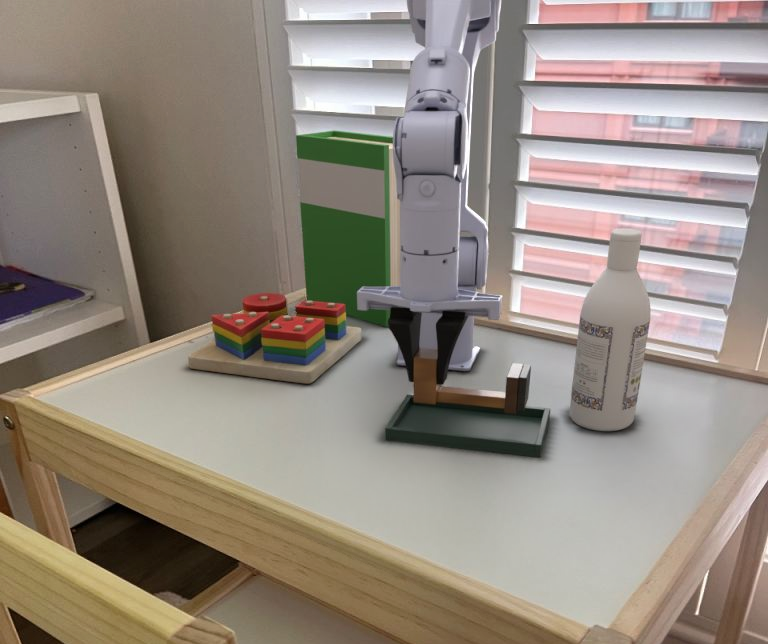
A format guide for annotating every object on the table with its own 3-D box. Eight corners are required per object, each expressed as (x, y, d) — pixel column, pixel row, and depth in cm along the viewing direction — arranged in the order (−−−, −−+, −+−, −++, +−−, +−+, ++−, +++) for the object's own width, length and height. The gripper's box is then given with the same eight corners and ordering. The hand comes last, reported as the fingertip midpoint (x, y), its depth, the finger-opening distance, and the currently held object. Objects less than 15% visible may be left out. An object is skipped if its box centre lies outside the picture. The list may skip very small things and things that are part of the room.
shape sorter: (310, 385, 98) (307, 337, 95) (187, 369, 103) (180, 323, 100) (363, 338, 112) (361, 295, 108) (252, 326, 117) (247, 284, 114)
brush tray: (385, 440, 85) (385, 428, 84) (407, 405, 92) (406, 394, 92) (539, 457, 81) (541, 445, 80) (549, 419, 88) (550, 408, 88)
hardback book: (421, 315, 120) (422, 139, 108) (386, 326, 116) (384, 145, 103) (341, 292, 131) (334, 130, 118) (306, 302, 126) (295, 135, 114)
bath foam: (624, 406, 91) (652, 222, 81) (641, 432, 85) (673, 238, 75) (563, 406, 91) (583, 224, 81) (575, 433, 85) (598, 240, 75)
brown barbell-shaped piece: (412, 404, 85) (412, 359, 82) (421, 389, 88) (421, 345, 85) (523, 415, 82) (527, 369, 79) (528, 400, 85) (532, 355, 82)
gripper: (345, 254, 76) (350, 387, 83) (497, 262, 73) (489, 401, 80) (367, 237, 82) (370, 363, 89) (508, 244, 78) (500, 375, 86)
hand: (427, 379), depth 85 cm, fingers closed on brown barbell-shaped piece, 2 cm apart
